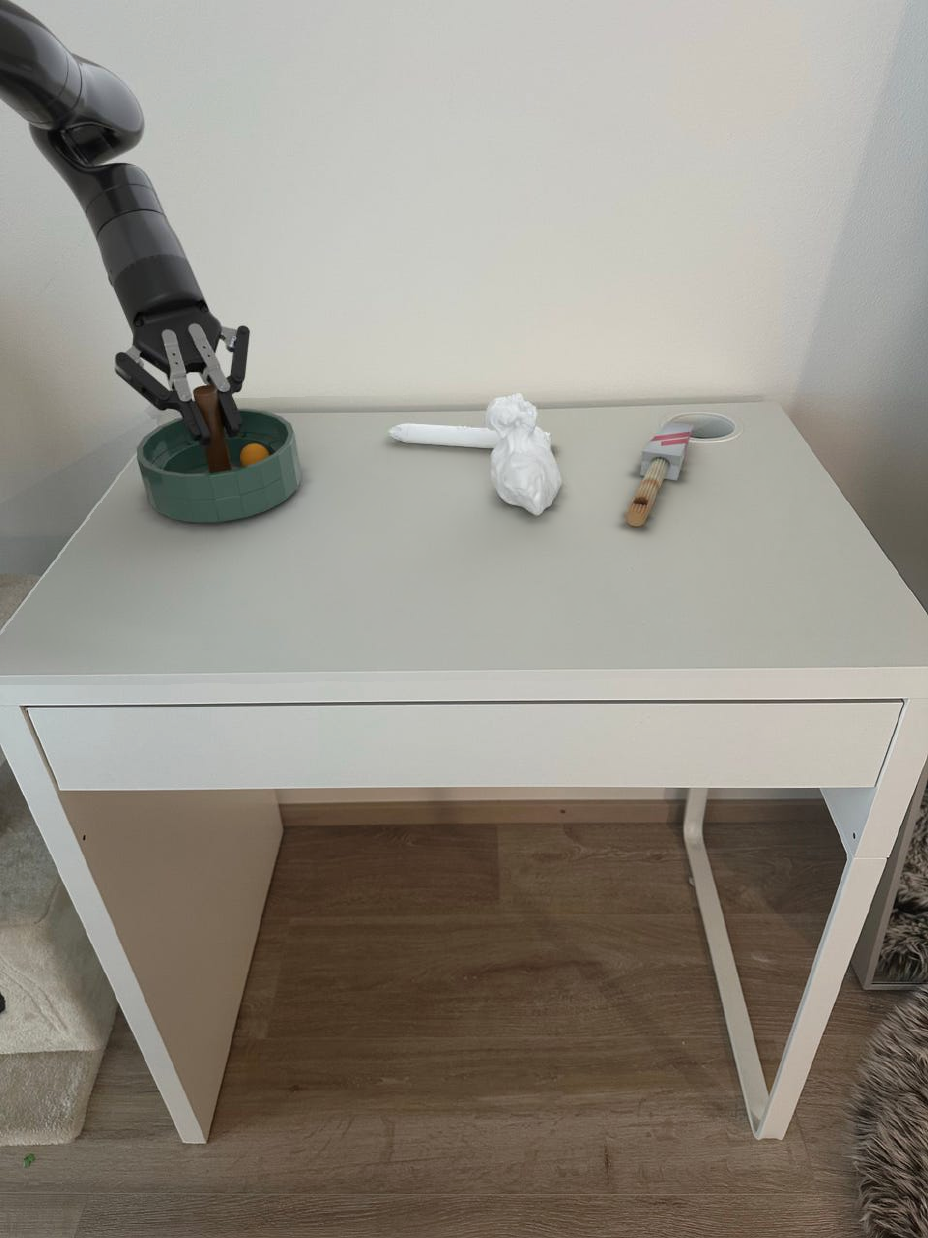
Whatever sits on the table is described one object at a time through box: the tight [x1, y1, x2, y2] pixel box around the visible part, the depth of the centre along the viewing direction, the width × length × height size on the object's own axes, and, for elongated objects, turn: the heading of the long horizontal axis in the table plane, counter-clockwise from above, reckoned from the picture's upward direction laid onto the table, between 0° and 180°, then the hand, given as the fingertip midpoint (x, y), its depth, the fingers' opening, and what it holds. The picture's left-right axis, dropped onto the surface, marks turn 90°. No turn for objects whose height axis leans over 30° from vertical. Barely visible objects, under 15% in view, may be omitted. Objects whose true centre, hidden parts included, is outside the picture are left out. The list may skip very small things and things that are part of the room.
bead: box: [240, 443, 269, 467], centre depth 96 cm, size 3×3×3 cm
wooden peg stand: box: [192, 384, 238, 474], centre depth 90 cm, size 5×5×10 cm
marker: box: [387, 422, 552, 450], centre depth 101 cm, size 18×2×2 cm, turn 77°
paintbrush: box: [625, 421, 694, 527], centre depth 93 cm, size 4×3×20 cm
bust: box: [483, 392, 563, 516], centre depth 90 cm, size 12×8×11 cm
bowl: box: [136, 408, 302, 523], centre depth 94 cm, size 15×15×6 cm
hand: (220, 437), depth 88 cm, fingers closed on wooden peg stand
